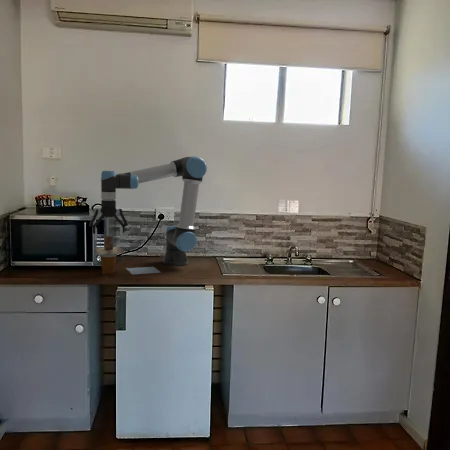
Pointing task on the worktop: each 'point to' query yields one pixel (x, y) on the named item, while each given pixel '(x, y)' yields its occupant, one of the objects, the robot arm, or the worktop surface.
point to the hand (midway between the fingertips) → (108, 239)
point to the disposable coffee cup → (108, 263)
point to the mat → (143, 270)
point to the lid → (108, 247)
